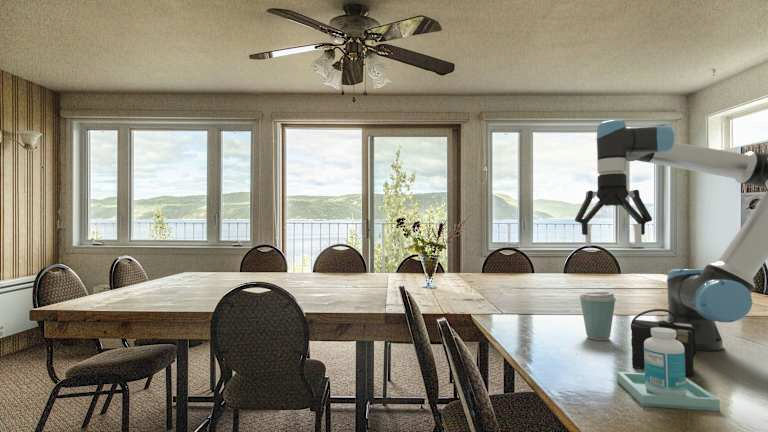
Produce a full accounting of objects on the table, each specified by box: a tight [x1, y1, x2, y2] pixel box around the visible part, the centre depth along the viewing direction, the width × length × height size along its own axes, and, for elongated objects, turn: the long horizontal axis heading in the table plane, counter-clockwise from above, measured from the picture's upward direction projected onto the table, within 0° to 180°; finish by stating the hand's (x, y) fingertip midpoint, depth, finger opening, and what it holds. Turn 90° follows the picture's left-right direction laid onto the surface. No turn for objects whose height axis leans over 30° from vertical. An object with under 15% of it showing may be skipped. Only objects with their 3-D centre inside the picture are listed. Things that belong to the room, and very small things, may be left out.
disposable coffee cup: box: [579, 291, 617, 341], centre depth 138 cm, size 11×11×15 cm
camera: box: [630, 308, 697, 377], centre depth 109 cm, size 11×14×15 cm
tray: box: [616, 371, 721, 412], centre depth 91 cm, size 14×14×2 cm
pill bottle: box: [644, 327, 687, 396], centre depth 92 cm, size 8×7×14 cm
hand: (613, 246), depth 124 cm, fingers open, 13 cm apart
